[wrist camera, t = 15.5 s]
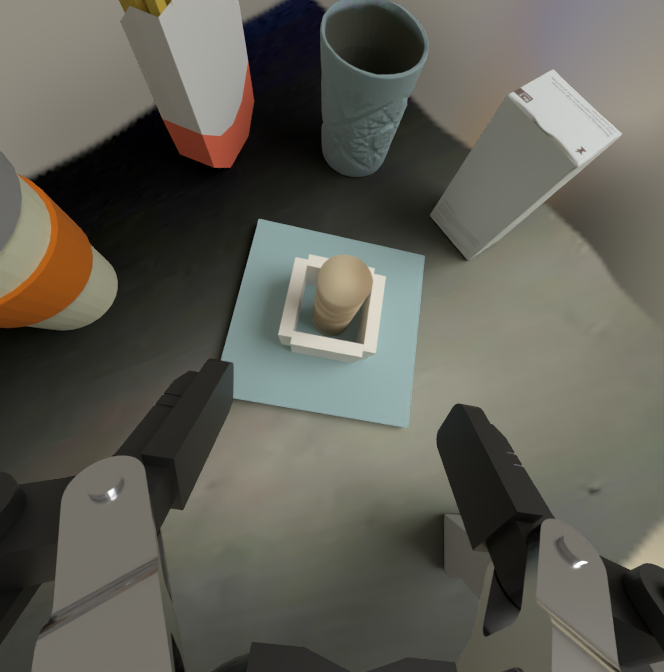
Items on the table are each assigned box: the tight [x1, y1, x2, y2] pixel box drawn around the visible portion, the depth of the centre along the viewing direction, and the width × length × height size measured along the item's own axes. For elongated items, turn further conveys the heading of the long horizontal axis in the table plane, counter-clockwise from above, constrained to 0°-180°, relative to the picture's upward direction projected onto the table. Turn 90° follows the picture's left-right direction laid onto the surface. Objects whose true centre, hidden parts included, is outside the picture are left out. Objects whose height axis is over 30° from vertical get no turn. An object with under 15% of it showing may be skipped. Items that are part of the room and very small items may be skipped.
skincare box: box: [430, 70, 622, 260], centre depth 28 cm, size 8×6×15 cm
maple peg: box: [312, 255, 373, 336], centre depth 24 cm, size 4×4×10 cm
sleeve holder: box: [221, 219, 425, 428], centre depth 28 cm, size 20×20×6 cm
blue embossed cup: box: [320, 0, 429, 177], centre depth 30 cm, size 10×10×12 cm
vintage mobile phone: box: [444, 514, 664, 672], centre depth 15 cm, size 4×5×25 cm
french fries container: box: [119, 0, 254, 168], centre depth 25 cm, size 5×11×18 cm, turn 160°
